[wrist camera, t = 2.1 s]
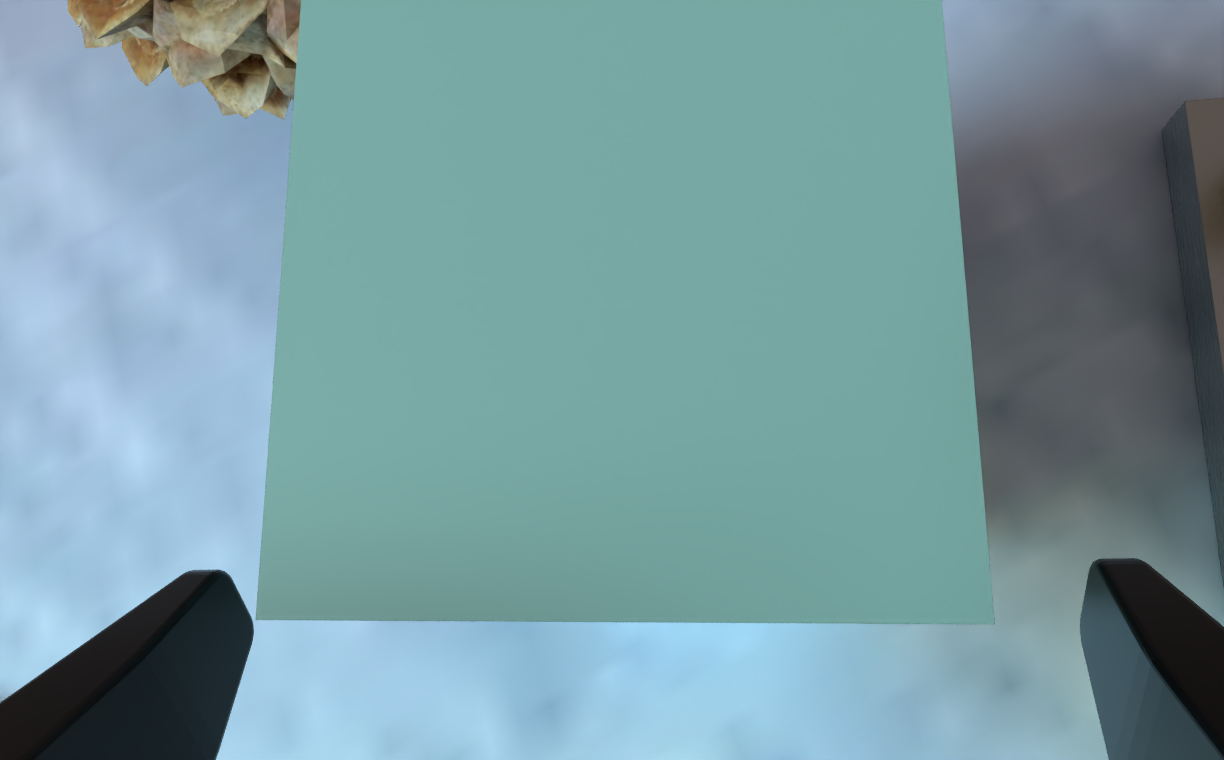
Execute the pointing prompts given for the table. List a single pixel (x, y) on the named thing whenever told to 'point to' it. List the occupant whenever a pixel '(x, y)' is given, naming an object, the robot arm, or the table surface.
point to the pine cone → (204, 45)
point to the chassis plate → (1202, 267)
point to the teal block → (623, 318)
